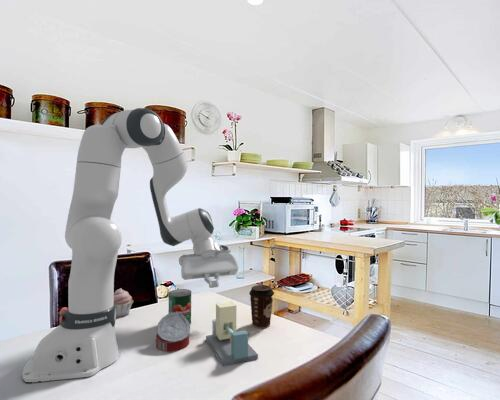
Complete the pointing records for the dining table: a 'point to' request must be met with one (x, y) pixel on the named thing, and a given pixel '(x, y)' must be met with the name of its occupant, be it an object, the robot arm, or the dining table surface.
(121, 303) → the cupcake
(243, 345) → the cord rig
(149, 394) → the dining table surface
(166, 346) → the canned food
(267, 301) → the coffee cup
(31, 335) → the dining table surface
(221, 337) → the sleeve
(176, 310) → the canned tomato
